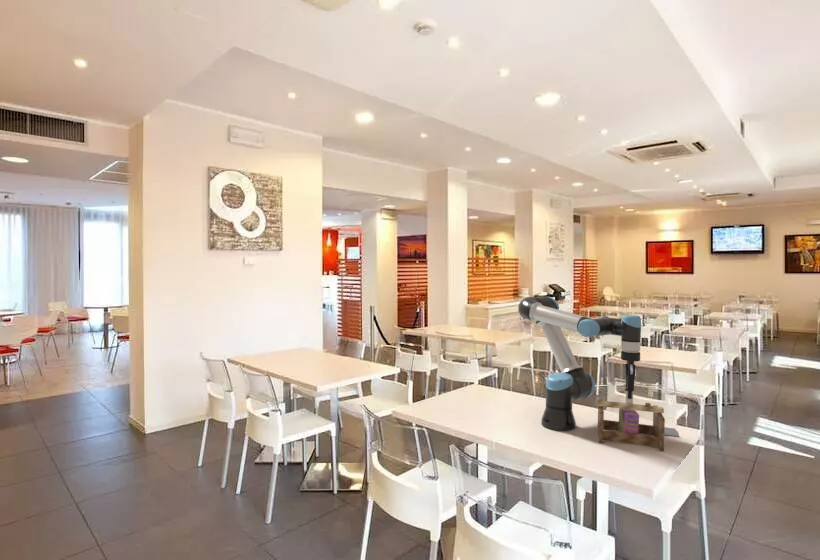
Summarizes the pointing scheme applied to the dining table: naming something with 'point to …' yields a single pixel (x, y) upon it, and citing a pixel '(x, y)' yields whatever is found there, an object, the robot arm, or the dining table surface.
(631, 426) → the box
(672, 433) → the mat
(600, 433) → the toolbox
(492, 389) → the dining table surface
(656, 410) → the brown wooden bar
